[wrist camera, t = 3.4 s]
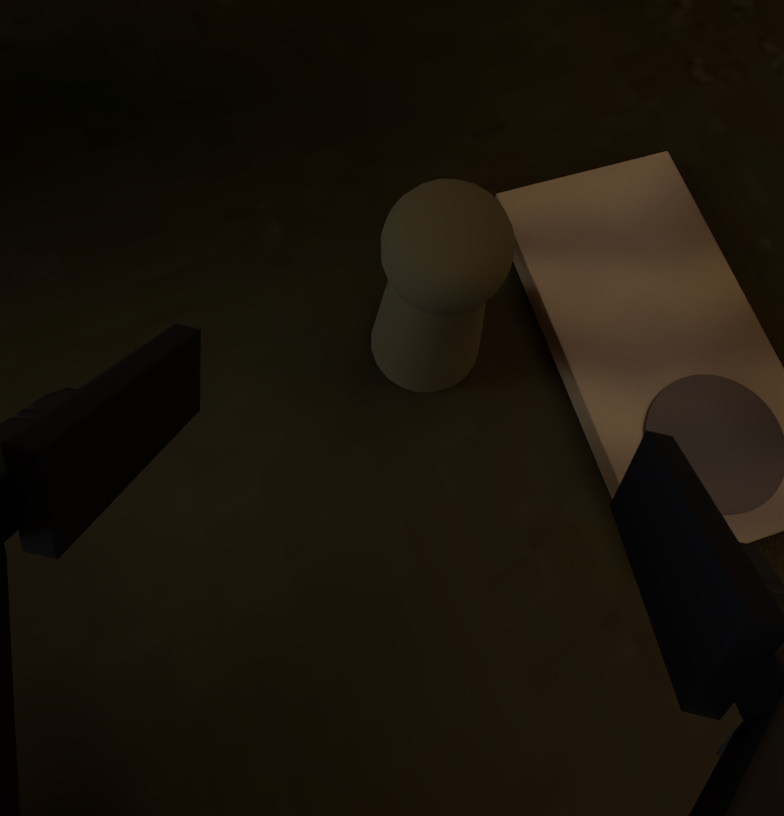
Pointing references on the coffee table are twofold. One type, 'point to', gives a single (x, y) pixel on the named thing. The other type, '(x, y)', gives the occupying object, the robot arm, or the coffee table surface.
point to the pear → (439, 282)
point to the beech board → (654, 331)
